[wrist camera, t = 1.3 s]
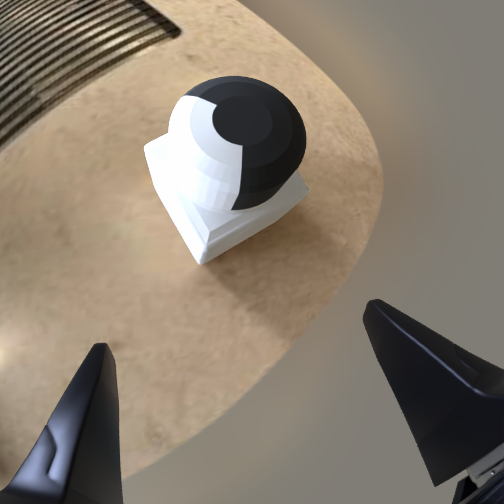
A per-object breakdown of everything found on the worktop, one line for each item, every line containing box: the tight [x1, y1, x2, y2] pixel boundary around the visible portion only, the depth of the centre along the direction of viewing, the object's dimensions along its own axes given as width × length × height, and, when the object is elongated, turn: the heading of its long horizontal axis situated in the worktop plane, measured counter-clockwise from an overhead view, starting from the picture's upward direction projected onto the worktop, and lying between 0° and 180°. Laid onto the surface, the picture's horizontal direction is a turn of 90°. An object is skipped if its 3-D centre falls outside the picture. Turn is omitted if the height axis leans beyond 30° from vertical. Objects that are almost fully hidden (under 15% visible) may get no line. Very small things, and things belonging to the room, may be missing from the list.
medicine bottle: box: [144, 76, 309, 265], centre depth 18 cm, size 7×7×12 cm
